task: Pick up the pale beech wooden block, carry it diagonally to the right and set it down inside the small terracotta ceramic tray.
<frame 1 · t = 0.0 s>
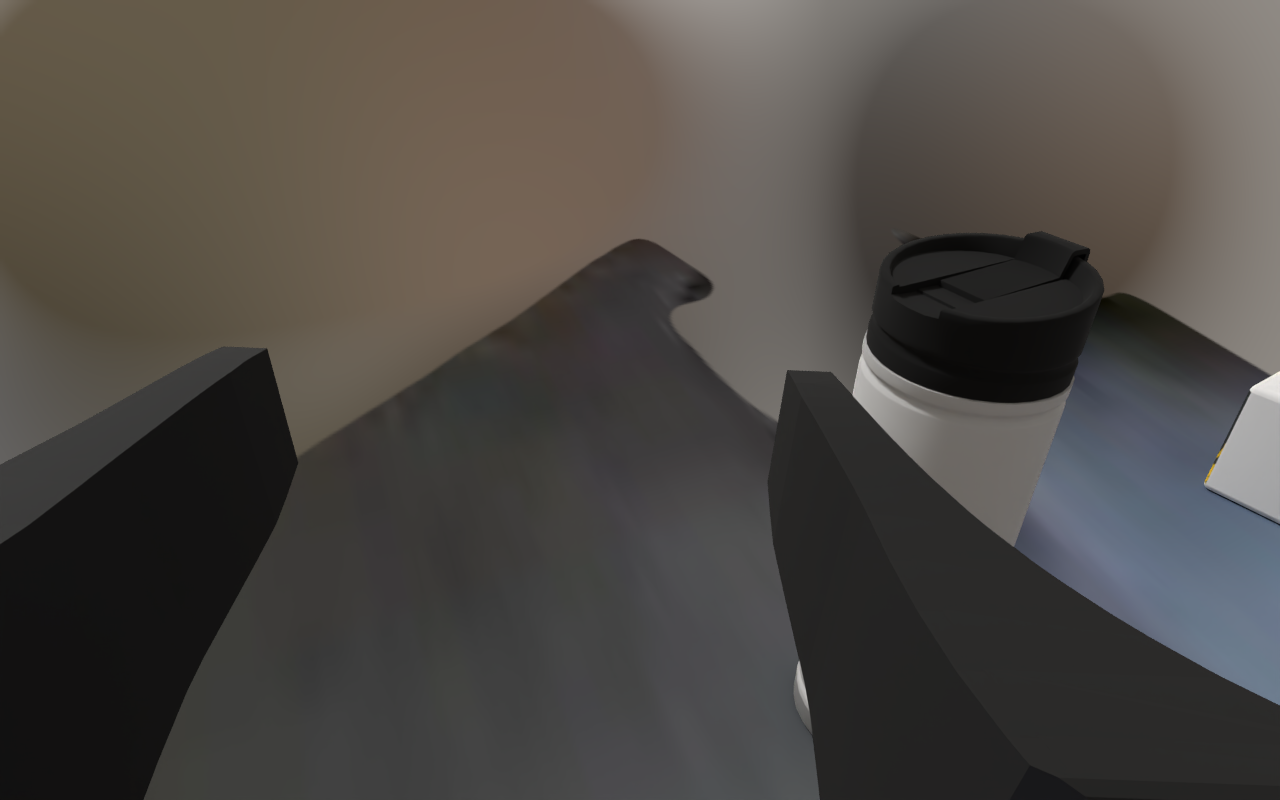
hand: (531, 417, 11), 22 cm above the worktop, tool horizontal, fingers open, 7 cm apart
travel mug: (869, 708, 34), on the worktop
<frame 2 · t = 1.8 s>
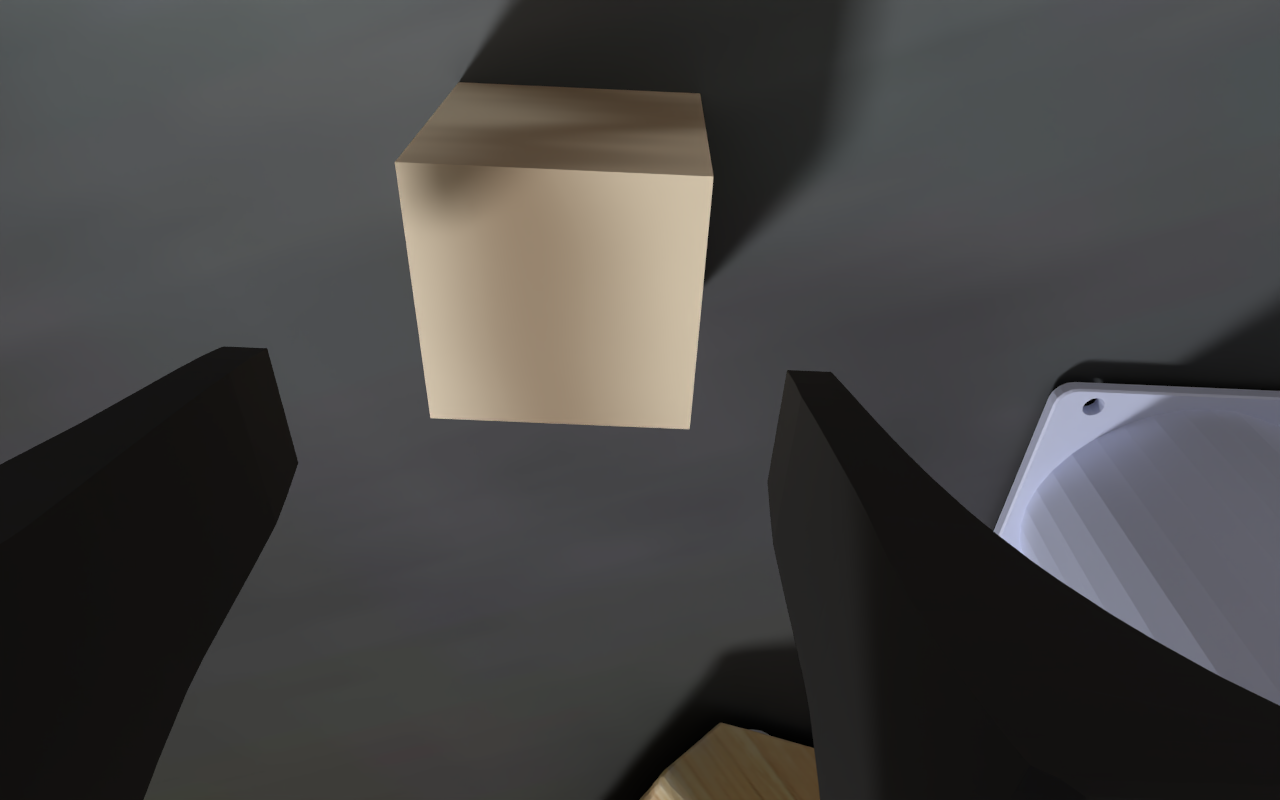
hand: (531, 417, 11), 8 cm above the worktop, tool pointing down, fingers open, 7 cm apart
beech block: (580, 202, 18), on the worktop
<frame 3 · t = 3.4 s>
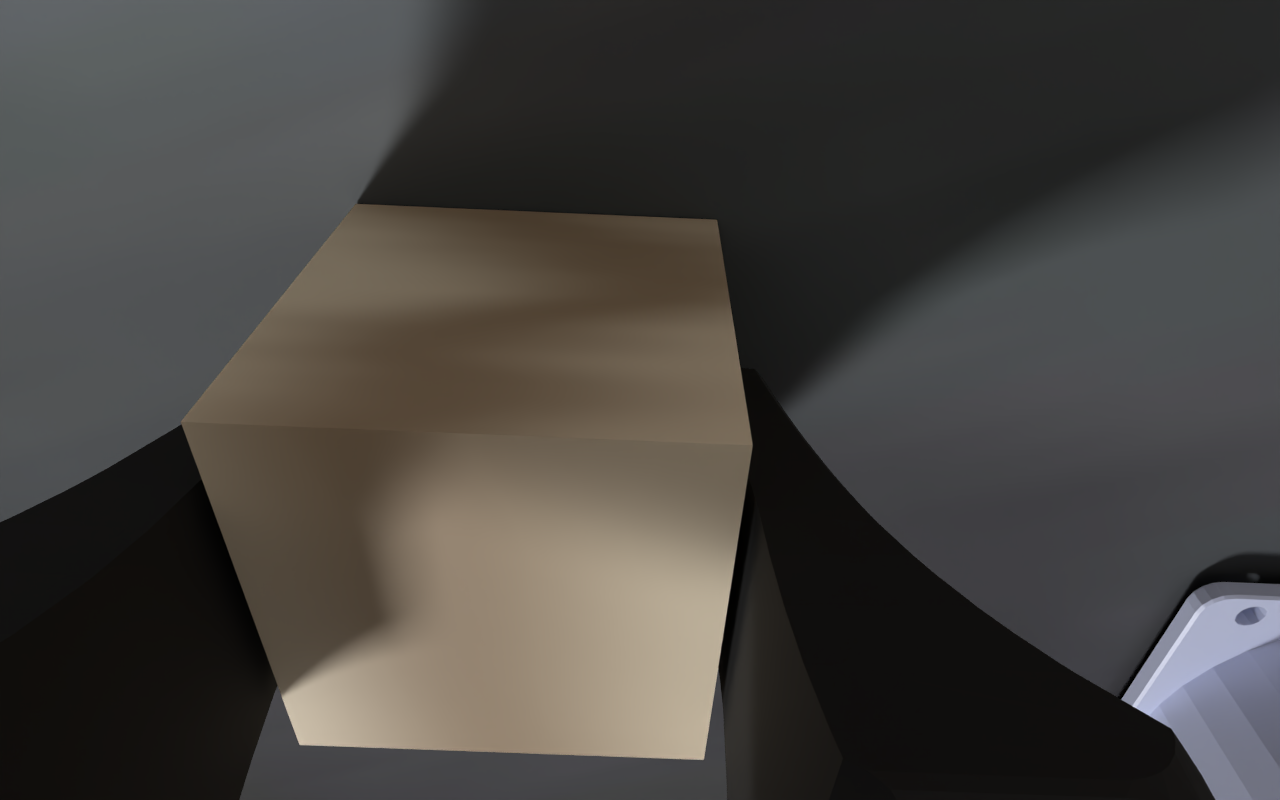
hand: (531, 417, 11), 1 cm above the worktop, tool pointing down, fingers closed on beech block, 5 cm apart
beech block: (542, 363, 13), on the worktop, touching gripper
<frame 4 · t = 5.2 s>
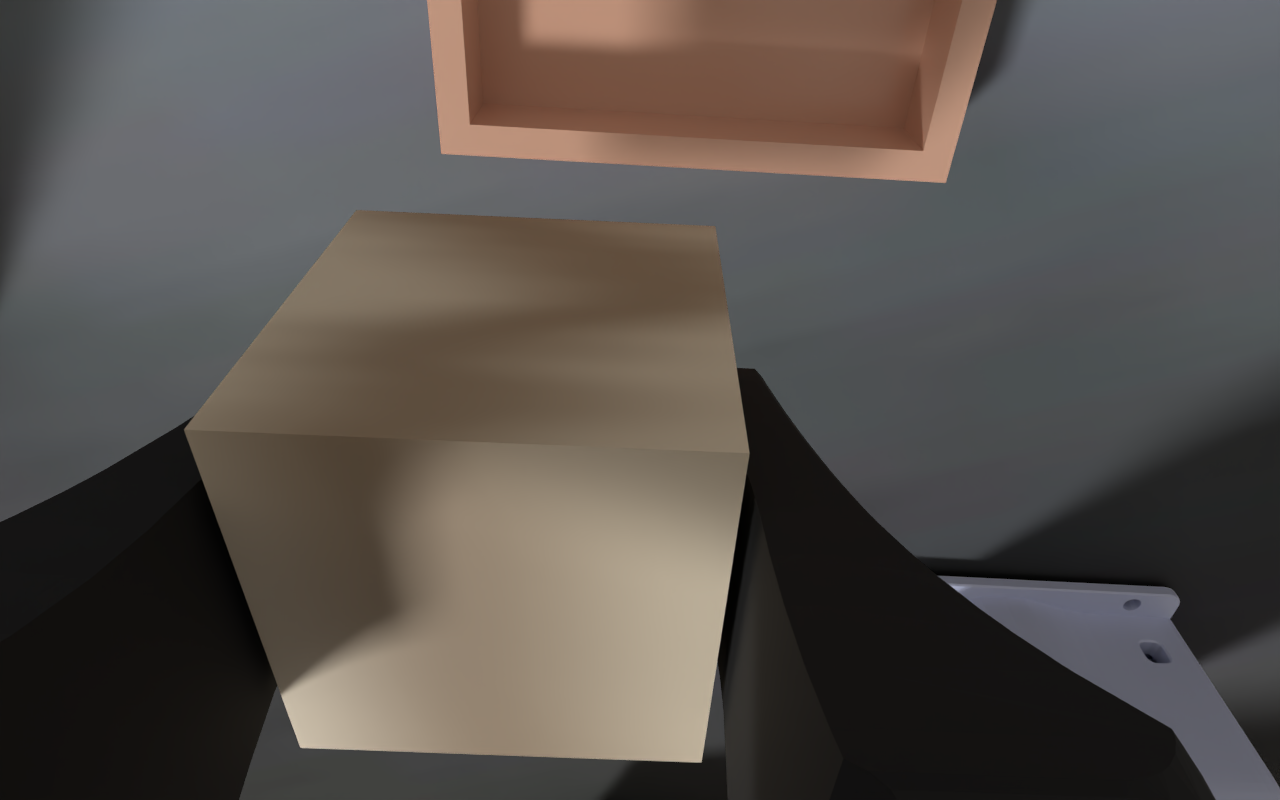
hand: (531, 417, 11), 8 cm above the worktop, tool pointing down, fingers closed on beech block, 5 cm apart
beech block: (541, 368, 13), point 7 cm above the worktop, touching gripper
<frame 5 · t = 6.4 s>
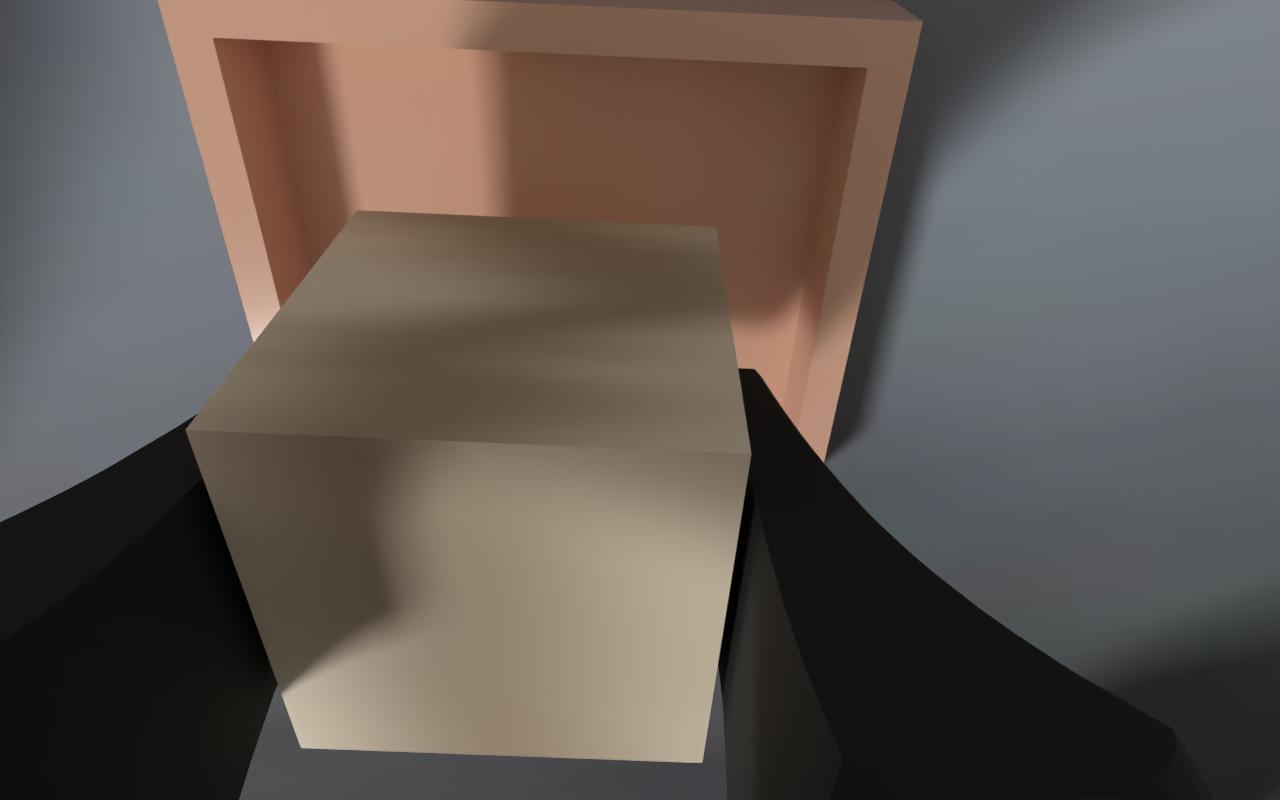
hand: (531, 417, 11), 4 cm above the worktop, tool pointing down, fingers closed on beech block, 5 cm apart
terracotta tray: (561, 280, 15), on the worktop
beech block: (542, 368, 13), point 3 cm above the worktop, touching gripper
when the fingers open (3 cm above the worktop, at t = 7.5 s): beech block drops 1 cm, resting on terracotta tray.
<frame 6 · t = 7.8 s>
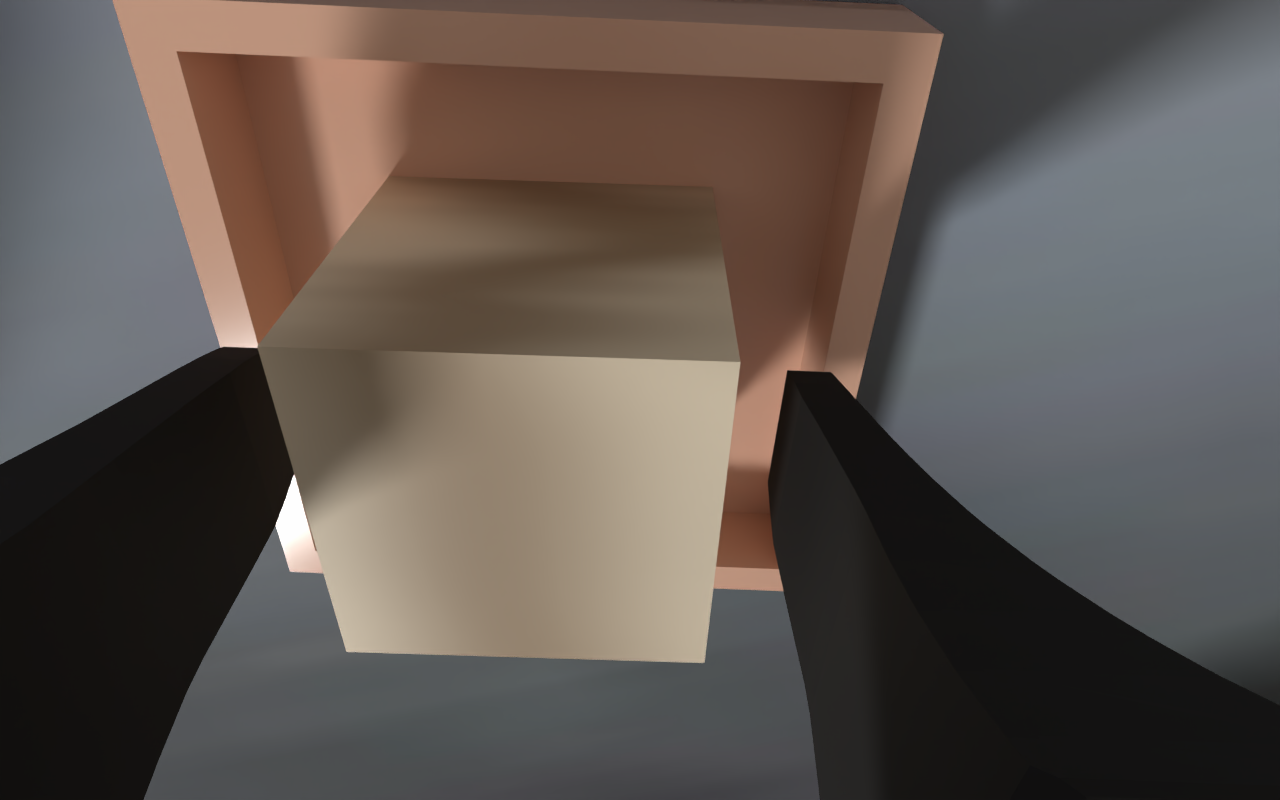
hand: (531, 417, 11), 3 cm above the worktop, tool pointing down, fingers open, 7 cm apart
terracotta tray: (555, 302, 14), on the worktop
beech block: (555, 322, 14), resting on terracotta tray
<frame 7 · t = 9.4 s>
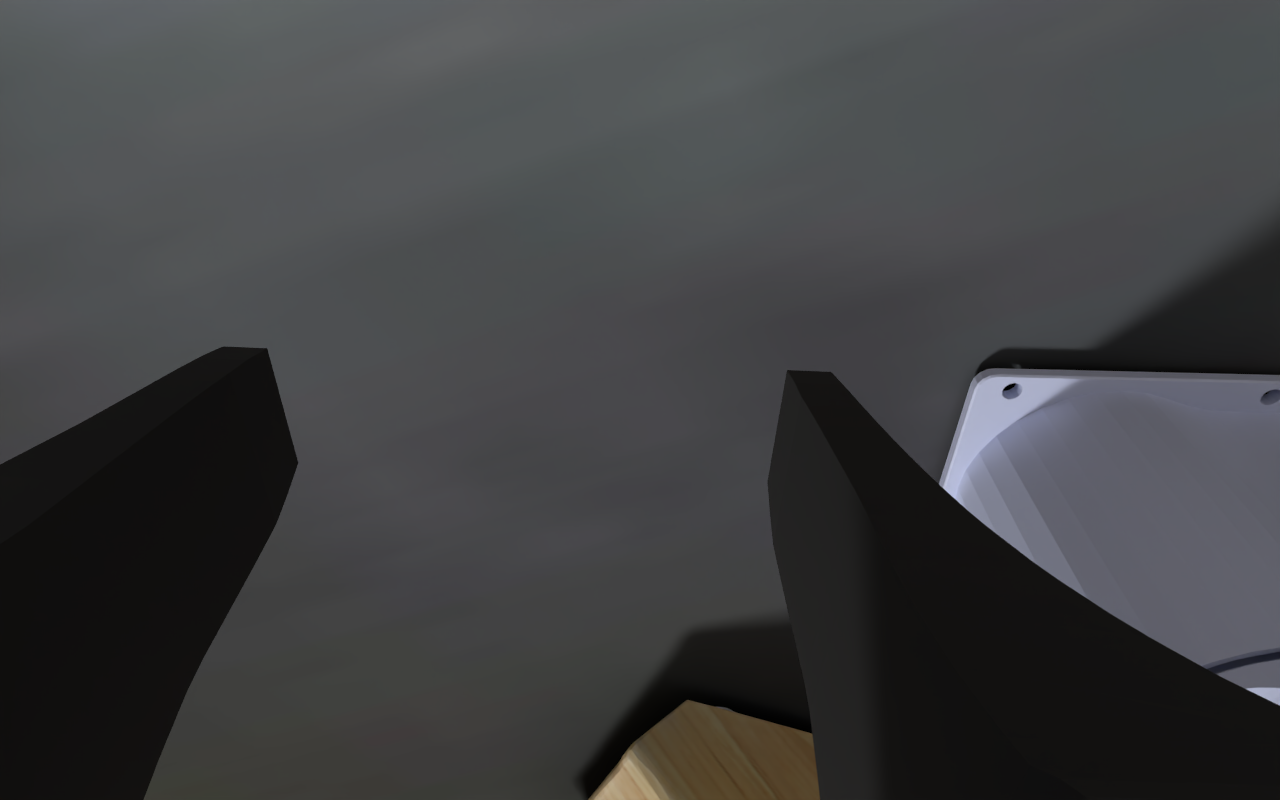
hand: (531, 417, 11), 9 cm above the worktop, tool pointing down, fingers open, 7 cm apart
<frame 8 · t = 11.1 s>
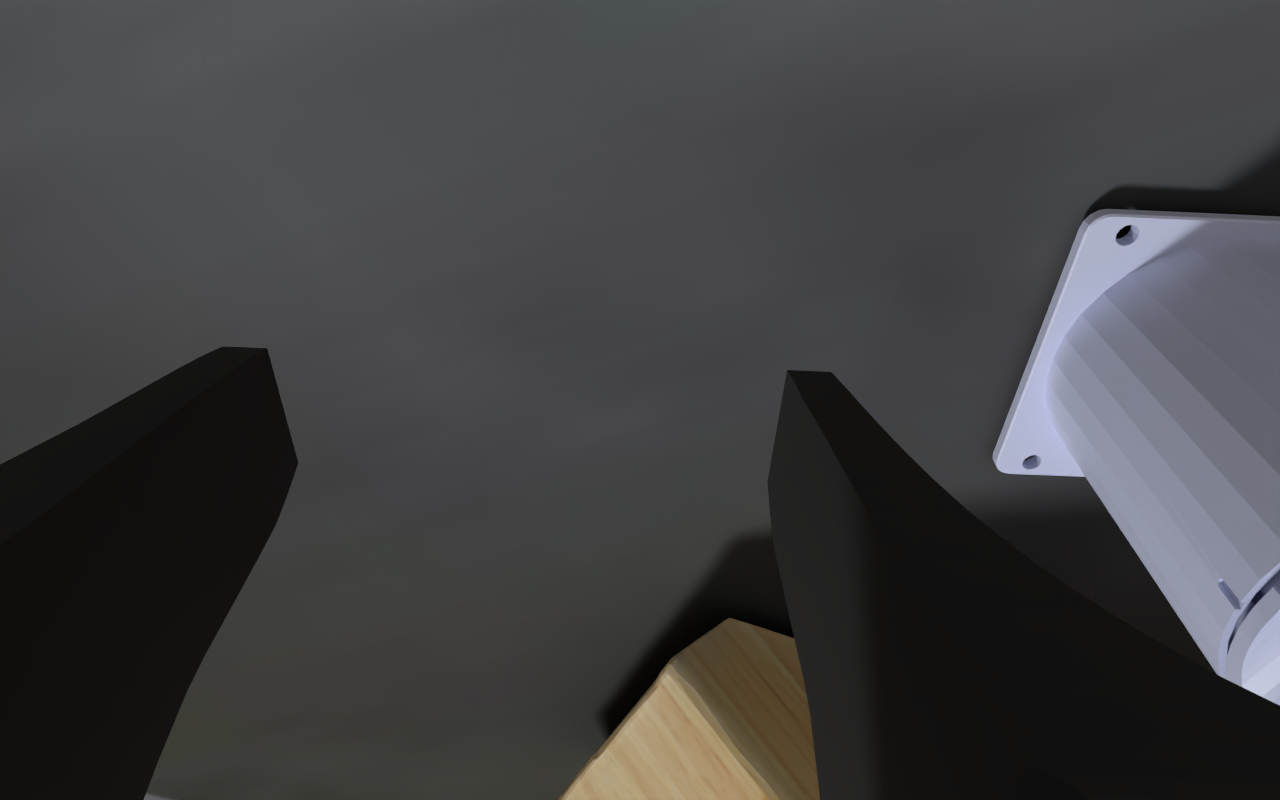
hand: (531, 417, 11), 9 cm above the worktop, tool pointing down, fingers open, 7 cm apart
knife block: (981, 779, 34), on the worktop
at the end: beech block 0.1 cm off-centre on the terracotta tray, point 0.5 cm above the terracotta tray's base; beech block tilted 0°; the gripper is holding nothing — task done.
